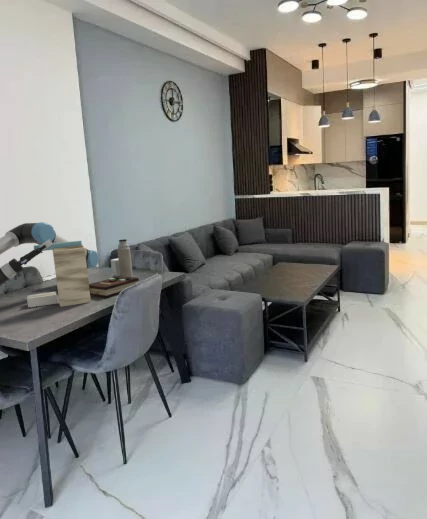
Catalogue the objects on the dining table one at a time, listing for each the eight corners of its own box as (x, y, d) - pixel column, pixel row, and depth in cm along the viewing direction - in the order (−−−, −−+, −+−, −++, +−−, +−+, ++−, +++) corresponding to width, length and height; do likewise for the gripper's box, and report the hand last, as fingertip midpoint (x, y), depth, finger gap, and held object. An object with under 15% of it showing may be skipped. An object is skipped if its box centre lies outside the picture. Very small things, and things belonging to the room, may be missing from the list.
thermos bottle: (124, 280, 290) (120, 238, 286) (135, 281, 288) (131, 238, 283) (118, 283, 283) (113, 240, 278) (129, 283, 280) (125, 240, 276)
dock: (28, 304, 244) (27, 295, 244) (57, 300, 250) (55, 291, 249) (28, 307, 237) (27, 298, 236) (57, 303, 242) (56, 294, 242)
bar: (34, 251, 232) (33, 245, 232) (81, 245, 241) (80, 240, 240) (34, 251, 229) (33, 246, 229) (81, 246, 238) (81, 241, 237)
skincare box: (122, 278, 298) (120, 257, 295) (128, 279, 294) (125, 257, 291) (112, 281, 292) (109, 259, 289) (117, 282, 288) (115, 260, 285)
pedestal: (59, 302, 244) (52, 247, 238) (89, 298, 249) (82, 244, 244) (60, 306, 234) (52, 249, 229) (90, 302, 240) (84, 245, 235)
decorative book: (81, 284, 254) (121, 273, 278) (83, 296, 255) (122, 285, 279) (103, 286, 243) (142, 275, 266) (105, 300, 244) (143, 288, 267)
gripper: (18, 271, 237) (55, 245, 242) (16, 276, 222) (56, 248, 227) (8, 260, 234) (46, 234, 239) (6, 264, 219) (46, 237, 225)
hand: (50, 241), depth 233 cm, fingers closed on bar, 3 cm apart
